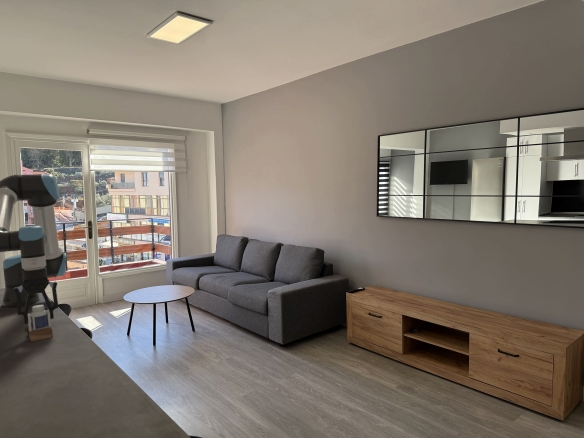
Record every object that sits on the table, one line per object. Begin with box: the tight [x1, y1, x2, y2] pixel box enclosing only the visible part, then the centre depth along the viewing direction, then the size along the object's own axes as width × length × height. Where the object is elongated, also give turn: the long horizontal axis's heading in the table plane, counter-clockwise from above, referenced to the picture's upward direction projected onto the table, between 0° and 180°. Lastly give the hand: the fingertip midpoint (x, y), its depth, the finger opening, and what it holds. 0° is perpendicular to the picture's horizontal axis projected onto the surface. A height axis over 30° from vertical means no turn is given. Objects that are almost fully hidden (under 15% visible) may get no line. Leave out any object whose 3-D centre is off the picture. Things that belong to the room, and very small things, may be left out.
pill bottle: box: [30, 304, 49, 331], centre depth 150 cm, size 5×5×10 cm
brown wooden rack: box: [27, 324, 54, 343], centre depth 154 cm, size 20×7×3 cm, turn 35°
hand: (40, 329), depth 150 cm, fingers closed on pill bottle, 5 cm apart
